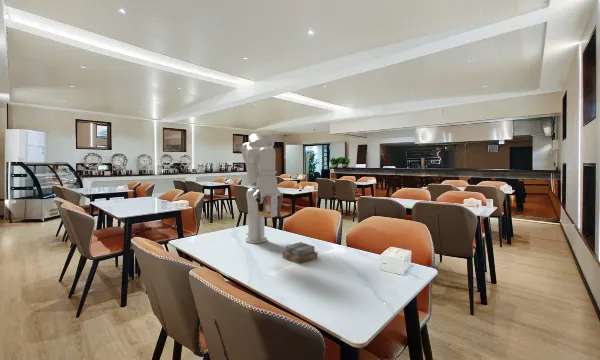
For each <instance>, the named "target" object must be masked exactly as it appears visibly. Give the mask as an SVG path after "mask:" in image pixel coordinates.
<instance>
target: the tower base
mask: <svg viewBox="0 0 600 360" xmlns="http://www.w3.org/2000/svg"><path fill="white" fill-rule="evenodd" d="M315 249H316V247H315V246H314V245H312V244H308V243H305V242H301V241H300V242H296V243H292V244H287V245H285V251H282V259H284V260H287V261H290V262H293V263H295V264H297V265H301V264H305V263H307V262H312V261H315V260H317V259H318V251H315Z"/></svg>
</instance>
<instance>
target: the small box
mask: <svg viewBox="0 0 600 360" xmlns="http://www.w3.org/2000/svg"><path fill="white" fill-rule="evenodd" d="M258 197H259V196H258ZM262 203H263V212H260V211H258V216H263V217H264V218H270V219H272V218H274V217H277V216H278V201H277V194H275V195H266V197H265V198H264V199H263V202H262Z"/></svg>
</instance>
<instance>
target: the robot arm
mask: <svg viewBox="0 0 600 360" xmlns="http://www.w3.org/2000/svg"><path fill="white" fill-rule="evenodd" d="M274 146H275V139H274V136H273V134H271V133H264V132H263V133H260V132H259V133H258V132H257V133H255V132H254V133H252V134H251V135H250V136H249V137H248V142H244V143H243V144H242V145H241V156H242V158H243V161H244V163H245V167H246V176H247V184H248V185H249V186H250V187H251V188H248V189H247V191H246V193H245V194H246V195H245V196H246V201H247V202H246V203H247V221H248V222H247V223H248V225H247V226H248V227H247V228H248V229H247V230H248V231H247V232H246V235H247V237H246V238H245V242H246V243H250V244H262V243H265V242H267V241H268V237H266V236H265V217H263V216H258V211H260V212H263V203H262V202H263V199H264V198H265V197H266V195H275V194H277V202H278V201H279V198H280V197H281V194H282V192H281V191H280V190H279V188H278V186H279V185H278V180H277V176H276V174H277V173H278V172H277V170H276V150H275V148H274ZM258 196H259V197H258Z"/></svg>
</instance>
